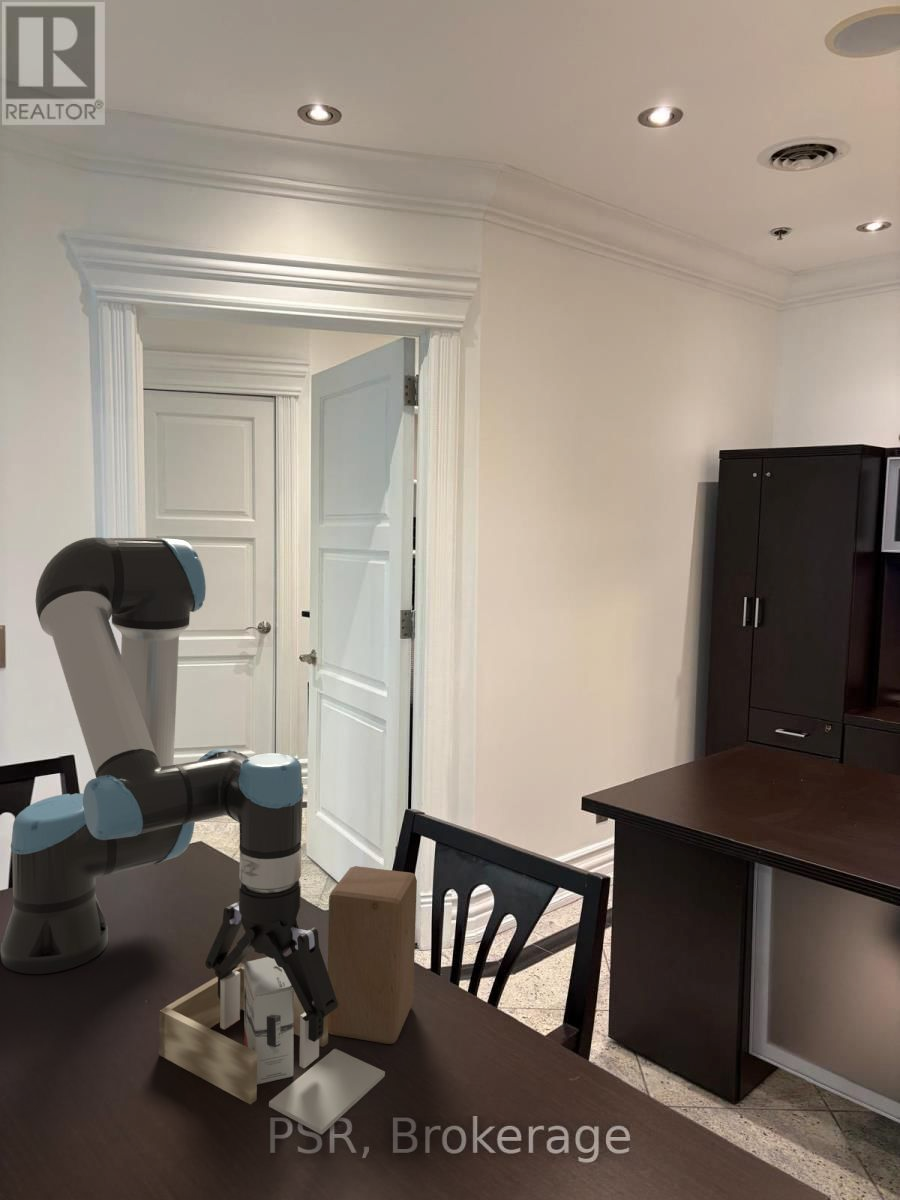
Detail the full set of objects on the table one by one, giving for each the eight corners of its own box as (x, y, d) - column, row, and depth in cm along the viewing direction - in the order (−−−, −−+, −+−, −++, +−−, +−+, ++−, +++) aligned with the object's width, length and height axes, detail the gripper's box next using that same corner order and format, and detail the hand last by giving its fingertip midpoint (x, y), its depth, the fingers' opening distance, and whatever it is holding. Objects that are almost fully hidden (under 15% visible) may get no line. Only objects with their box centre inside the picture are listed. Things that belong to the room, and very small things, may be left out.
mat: (269, 1106, 98) (269, 1101, 98) (334, 1052, 108) (334, 1048, 108) (321, 1134, 94) (321, 1129, 94) (384, 1076, 104) (384, 1071, 104)
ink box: (242, 1045, 109) (243, 959, 108) (280, 1037, 111) (281, 952, 110) (253, 1086, 102) (254, 994, 100) (294, 1077, 104) (295, 986, 102)
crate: (159, 1055, 107) (159, 1010, 106) (240, 1002, 119) (240, 962, 118) (250, 1104, 98) (251, 1056, 98) (327, 1043, 110) (328, 1000, 110)
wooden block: (395, 1048, 110) (400, 902, 108) (323, 1036, 112) (326, 892, 110) (414, 1005, 120) (418, 870, 118) (347, 995, 122) (350, 862, 120)
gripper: (177, 866, 107) (177, 1023, 109) (328, 920, 94) (325, 1096, 96) (221, 847, 114) (221, 996, 116) (368, 895, 101) (364, 1061, 103)
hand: (268, 1042), depth 106 cm, fingers open, 13 cm apart
